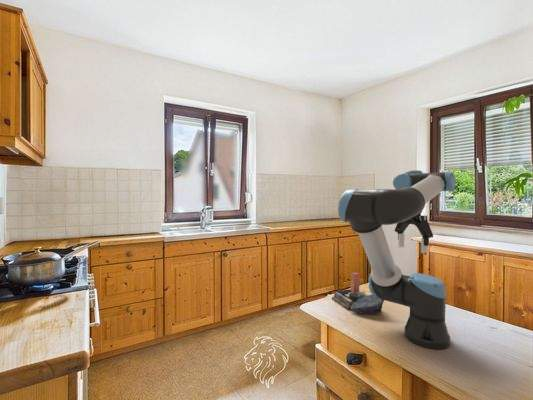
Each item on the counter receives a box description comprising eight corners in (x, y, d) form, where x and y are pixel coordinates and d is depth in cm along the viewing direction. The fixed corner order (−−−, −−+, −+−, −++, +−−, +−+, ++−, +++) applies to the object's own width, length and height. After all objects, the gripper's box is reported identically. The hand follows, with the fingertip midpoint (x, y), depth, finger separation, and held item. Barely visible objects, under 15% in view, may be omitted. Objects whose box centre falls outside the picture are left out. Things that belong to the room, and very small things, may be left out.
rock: (391, 318, 125) (385, 304, 134) (386, 302, 123) (380, 290, 133) (356, 326, 128) (353, 312, 137) (351, 310, 126) (348, 298, 136)
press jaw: (365, 301, 140) (365, 273, 140) (349, 303, 137) (349, 274, 137) (360, 298, 144) (360, 271, 144) (344, 300, 141) (344, 272, 141)
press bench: (376, 306, 137) (376, 297, 137) (347, 310, 132) (347, 301, 132) (358, 296, 151) (358, 288, 151) (331, 299, 146) (332, 291, 146)
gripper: (443, 205, 120) (442, 255, 120) (399, 203, 144) (399, 244, 144) (429, 205, 118) (428, 256, 118) (387, 203, 142) (386, 245, 142)
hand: (412, 249), depth 131 cm, fingers open, 13 cm apart
